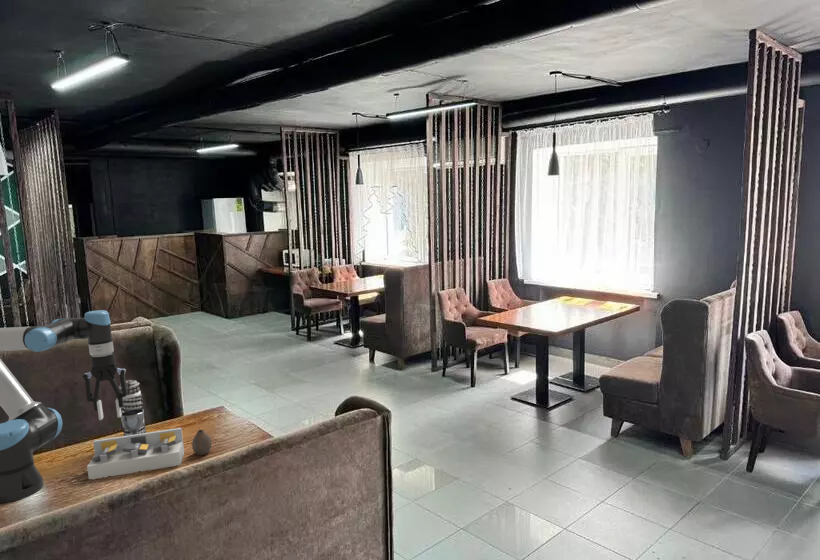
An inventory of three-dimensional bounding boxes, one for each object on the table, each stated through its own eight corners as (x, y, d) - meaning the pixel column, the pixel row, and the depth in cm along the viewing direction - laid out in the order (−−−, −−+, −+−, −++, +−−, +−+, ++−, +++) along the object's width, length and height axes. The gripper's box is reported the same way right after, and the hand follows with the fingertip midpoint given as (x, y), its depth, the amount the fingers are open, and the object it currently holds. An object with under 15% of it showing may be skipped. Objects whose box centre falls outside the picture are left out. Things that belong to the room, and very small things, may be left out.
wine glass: (138, 453, 216) (134, 416, 214) (120, 452, 217) (115, 415, 215) (152, 444, 223) (147, 408, 221) (134, 444, 225) (130, 408, 223)
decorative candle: (131, 447, 222) (124, 386, 219) (118, 443, 227) (110, 383, 224) (152, 438, 230) (145, 379, 227) (139, 434, 235) (132, 377, 231)
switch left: (93, 462, 197) (91, 457, 197) (97, 456, 202) (95, 452, 202) (116, 453, 199) (114, 448, 199) (120, 447, 204) (117, 443, 204)
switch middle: (122, 452, 200) (123, 447, 200) (125, 447, 204) (126, 441, 204) (146, 454, 202) (147, 449, 202) (148, 449, 207) (149, 443, 207)
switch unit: (88, 480, 195) (85, 452, 194) (97, 466, 206) (94, 440, 205) (180, 465, 203) (177, 438, 202) (184, 452, 214) (181, 427, 212)
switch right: (154, 453, 203) (152, 448, 202) (156, 447, 207) (154, 443, 207) (176, 444, 204) (174, 439, 204) (178, 439, 209) (176, 434, 209)
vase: (196, 458, 208) (194, 436, 207) (190, 453, 213) (188, 431, 212) (215, 452, 212) (212, 430, 211) (208, 447, 217) (206, 426, 216)
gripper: (69, 360, 191) (78, 425, 194) (128, 353, 195) (136, 417, 198) (76, 355, 198) (85, 417, 201) (132, 348, 203) (140, 410, 206)
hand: (110, 417), depth 200 cm, fingers open, 5 cm apart
